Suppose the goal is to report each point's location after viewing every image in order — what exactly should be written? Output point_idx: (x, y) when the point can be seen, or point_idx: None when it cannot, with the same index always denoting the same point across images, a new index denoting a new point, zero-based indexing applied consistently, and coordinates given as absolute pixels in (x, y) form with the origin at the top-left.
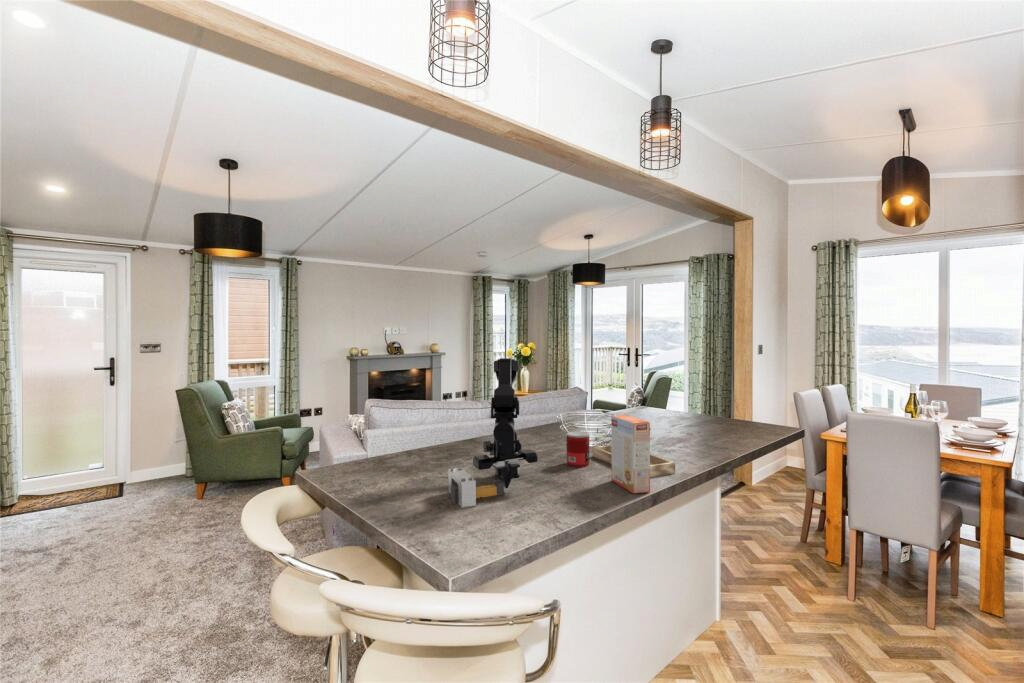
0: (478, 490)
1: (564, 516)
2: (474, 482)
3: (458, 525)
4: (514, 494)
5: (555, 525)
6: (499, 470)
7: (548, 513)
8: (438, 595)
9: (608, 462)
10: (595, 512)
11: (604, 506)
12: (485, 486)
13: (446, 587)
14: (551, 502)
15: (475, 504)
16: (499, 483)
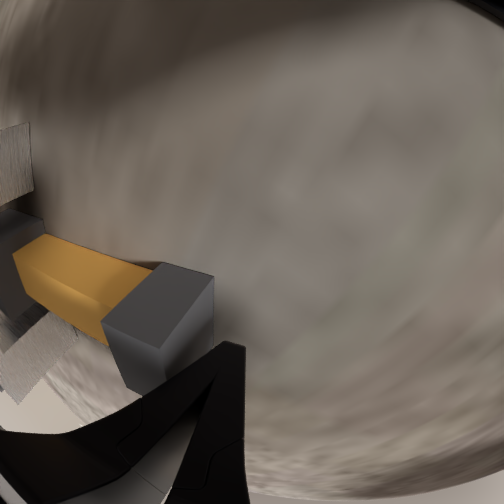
0: (51, 307)
1: (291, 489)
2: (19, 397)
3: (63, 375)
4: (277, 378)
5: None
6: (90, 452)
7: (270, 477)
8: (82, 426)
9: None
10: (362, 497)
11: (407, 492)
12: (71, 297)
13: None
14: (341, 468)
15: (73, 341)
16: (141, 392)
